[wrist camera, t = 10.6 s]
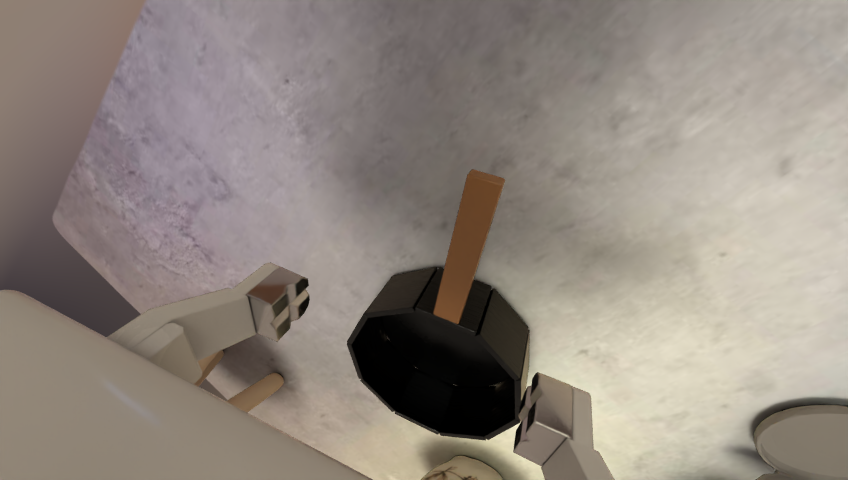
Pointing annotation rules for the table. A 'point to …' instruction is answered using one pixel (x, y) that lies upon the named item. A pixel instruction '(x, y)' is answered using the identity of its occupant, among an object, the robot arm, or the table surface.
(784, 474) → the pocket watch
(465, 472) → the white floral bowl
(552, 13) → the table surface
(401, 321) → the saucepan
